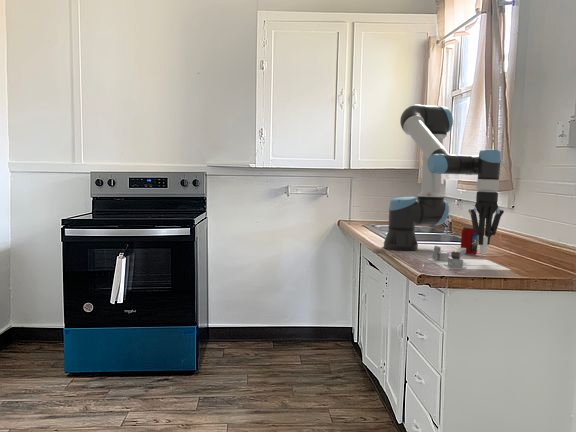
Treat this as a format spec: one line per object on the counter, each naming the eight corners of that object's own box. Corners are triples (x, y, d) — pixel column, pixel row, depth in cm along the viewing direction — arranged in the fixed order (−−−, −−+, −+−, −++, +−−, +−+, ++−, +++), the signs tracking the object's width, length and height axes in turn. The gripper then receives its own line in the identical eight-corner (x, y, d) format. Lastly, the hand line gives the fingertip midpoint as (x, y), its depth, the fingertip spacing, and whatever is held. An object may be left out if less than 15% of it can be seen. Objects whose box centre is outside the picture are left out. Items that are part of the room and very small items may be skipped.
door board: (426, 261, 198) (427, 258, 198) (486, 262, 199) (486, 259, 199) (445, 271, 178) (445, 268, 178) (511, 272, 179) (511, 269, 179)
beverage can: (477, 256, 213) (478, 228, 211) (460, 255, 215) (461, 227, 214) (476, 253, 219) (478, 226, 218) (460, 252, 221) (461, 225, 220)
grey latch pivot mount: (443, 264, 185) (444, 256, 185) (459, 265, 185) (460, 257, 185) (449, 268, 179) (450, 259, 179) (466, 268, 179) (466, 260, 179)
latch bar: (459, 258, 180) (459, 252, 179) (450, 257, 181) (450, 251, 181) (467, 252, 194) (467, 246, 193) (458, 252, 195) (459, 245, 195)
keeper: (432, 258, 197) (433, 245, 197) (445, 259, 197) (446, 246, 197) (435, 260, 194) (436, 247, 193) (448, 260, 194) (449, 247, 193)
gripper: (499, 191, 192) (495, 252, 195) (466, 190, 192) (462, 251, 194) (509, 192, 185) (504, 255, 187) (474, 191, 184) (470, 254, 186)
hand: (483, 253), depth 190 cm, fingers closed
